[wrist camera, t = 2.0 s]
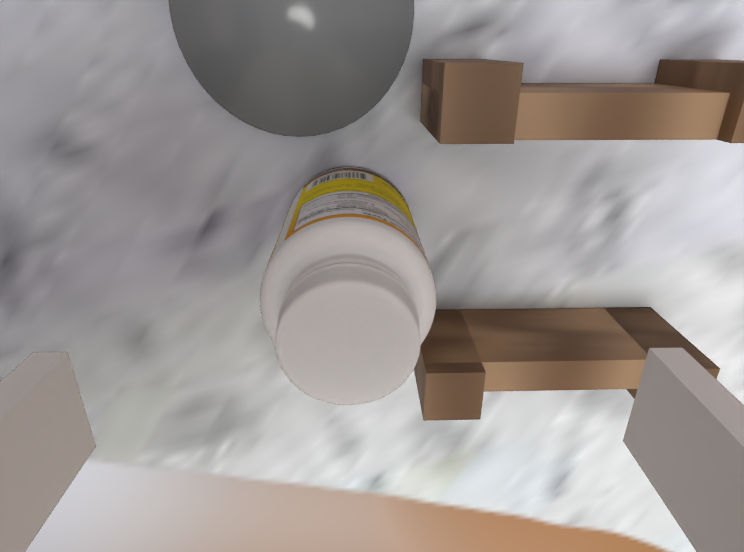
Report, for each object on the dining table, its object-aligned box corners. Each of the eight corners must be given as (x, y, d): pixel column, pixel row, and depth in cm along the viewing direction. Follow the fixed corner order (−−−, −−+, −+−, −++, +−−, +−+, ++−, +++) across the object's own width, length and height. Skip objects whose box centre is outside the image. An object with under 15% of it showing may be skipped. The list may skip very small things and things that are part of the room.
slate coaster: (193, 134, 21) (188, 136, 20) (153, -138, 17) (146, -144, 16) (408, 134, 21) (409, 136, 20) (417, -134, 17) (418, -140, 16)
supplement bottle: (353, 300, 24) (352, 459, 15) (263, 226, 22) (199, 354, 13) (436, 222, 23) (493, 344, 13) (347, 135, 21) (341, 207, 12)
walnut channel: (410, 351, 25) (423, 420, 21) (423, 59, 20) (444, 62, 15) (639, 347, 26) (703, 415, 21) (718, 59, 20) (831, 63, 15)
